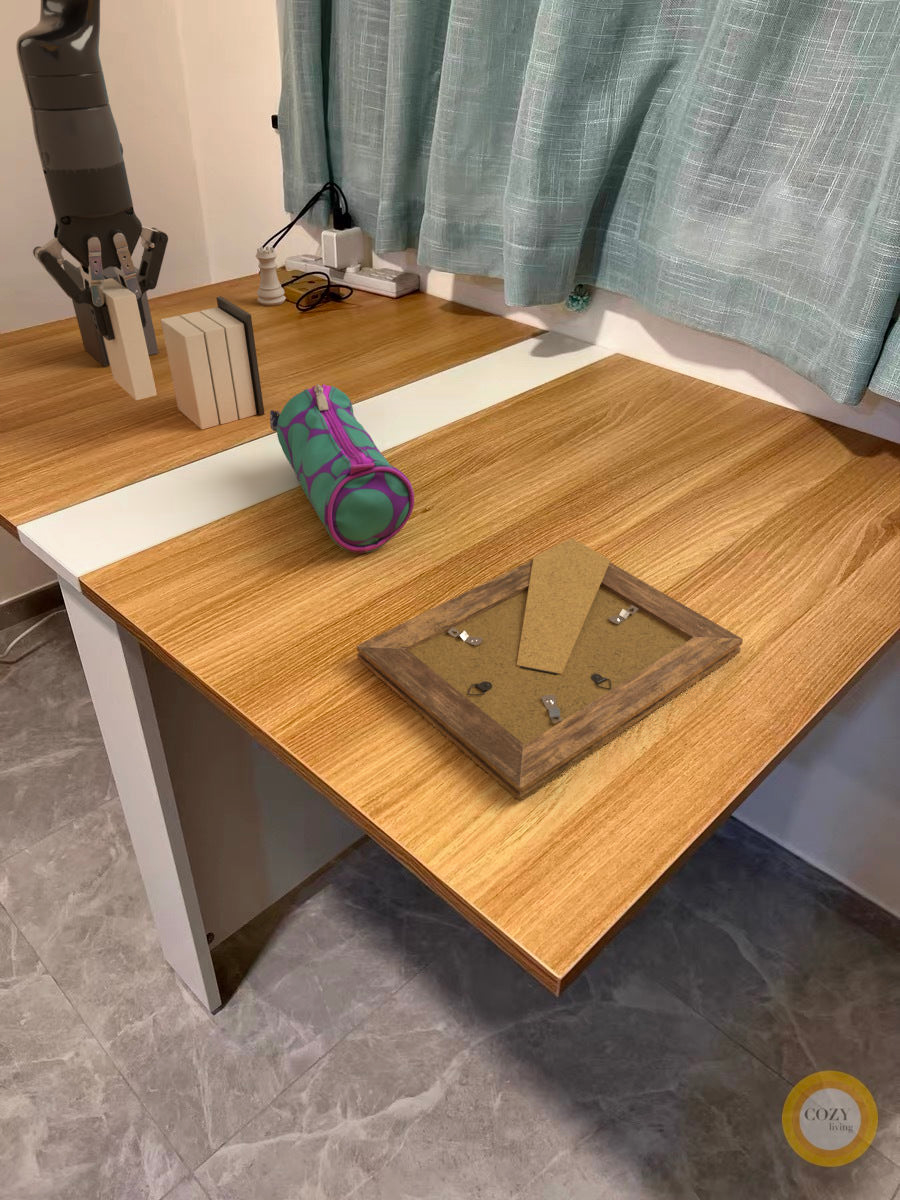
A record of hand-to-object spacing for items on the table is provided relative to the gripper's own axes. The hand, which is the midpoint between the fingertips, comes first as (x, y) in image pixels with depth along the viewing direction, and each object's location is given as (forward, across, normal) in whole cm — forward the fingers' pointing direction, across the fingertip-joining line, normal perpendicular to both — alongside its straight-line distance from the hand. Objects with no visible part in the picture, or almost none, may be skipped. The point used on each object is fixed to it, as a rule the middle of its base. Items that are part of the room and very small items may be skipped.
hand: (122, 334), depth 95 cm
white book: (+6, 0, 0) cm, 6 cm away
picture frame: (+12, -11, +58) cm, 60 cm away
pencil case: (+12, -10, +28) cm, 32 cm away
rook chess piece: (+12, -33, -33) cm, 48 cm away
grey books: (+11, -7, -26) cm, 29 cm away
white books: (+11, -9, 0) cm, 15 cm away
